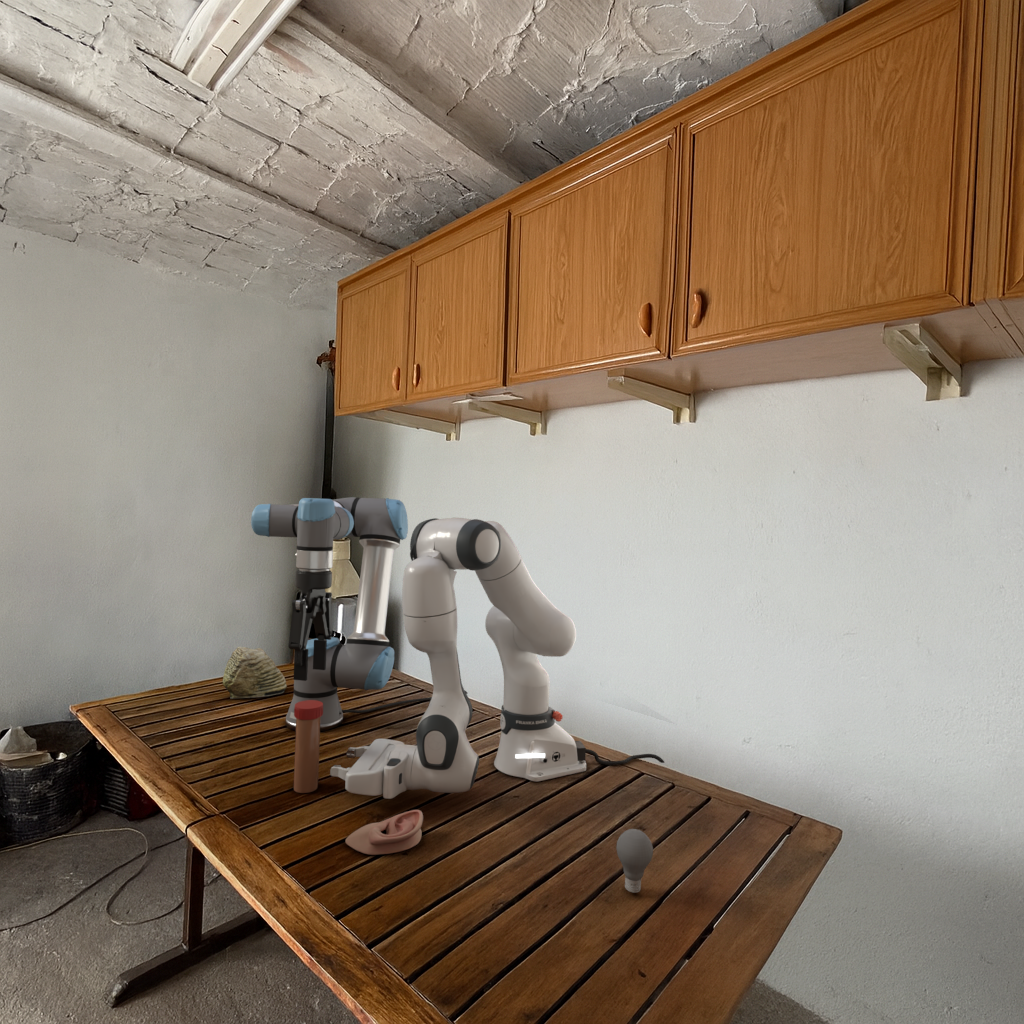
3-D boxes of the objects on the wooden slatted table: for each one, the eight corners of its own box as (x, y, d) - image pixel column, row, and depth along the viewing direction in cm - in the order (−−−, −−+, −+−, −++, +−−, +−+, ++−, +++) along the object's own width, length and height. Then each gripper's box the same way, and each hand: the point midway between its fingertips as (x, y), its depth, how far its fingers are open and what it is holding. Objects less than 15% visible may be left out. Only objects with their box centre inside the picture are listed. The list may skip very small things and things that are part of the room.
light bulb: (610, 879, 108) (613, 822, 108) (644, 879, 109) (647, 822, 109) (619, 902, 102) (622, 840, 102) (655, 901, 103) (658, 840, 103)
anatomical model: (338, 827, 114) (365, 799, 125) (337, 849, 114) (364, 818, 125) (408, 839, 111) (429, 808, 122) (407, 861, 111) (428, 828, 122)
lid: (317, 720, 134) (318, 709, 134) (289, 719, 134) (290, 708, 134) (326, 711, 140) (326, 700, 140) (299, 710, 140) (300, 699, 140)
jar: (313, 793, 135) (316, 710, 135) (290, 792, 135) (293, 709, 135) (321, 783, 140) (324, 703, 140) (298, 782, 140) (301, 702, 140)
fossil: (218, 695, 195) (220, 647, 195) (278, 685, 208) (279, 640, 207) (228, 703, 189) (230, 653, 188) (289, 692, 201) (290, 645, 201)
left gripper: (319, 564, 147) (316, 661, 148) (272, 573, 127) (268, 686, 127) (350, 566, 146) (346, 663, 147) (307, 575, 126) (303, 689, 126)
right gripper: (415, 734, 145) (356, 729, 147) (389, 771, 125) (322, 765, 126) (414, 761, 146) (355, 756, 147) (388, 803, 125) (320, 797, 126)
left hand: (310, 674), depth 137 cm, fingers open, 8 cm apart
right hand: (339, 761), depth 136 cm, fingers open, 8 cm apart
